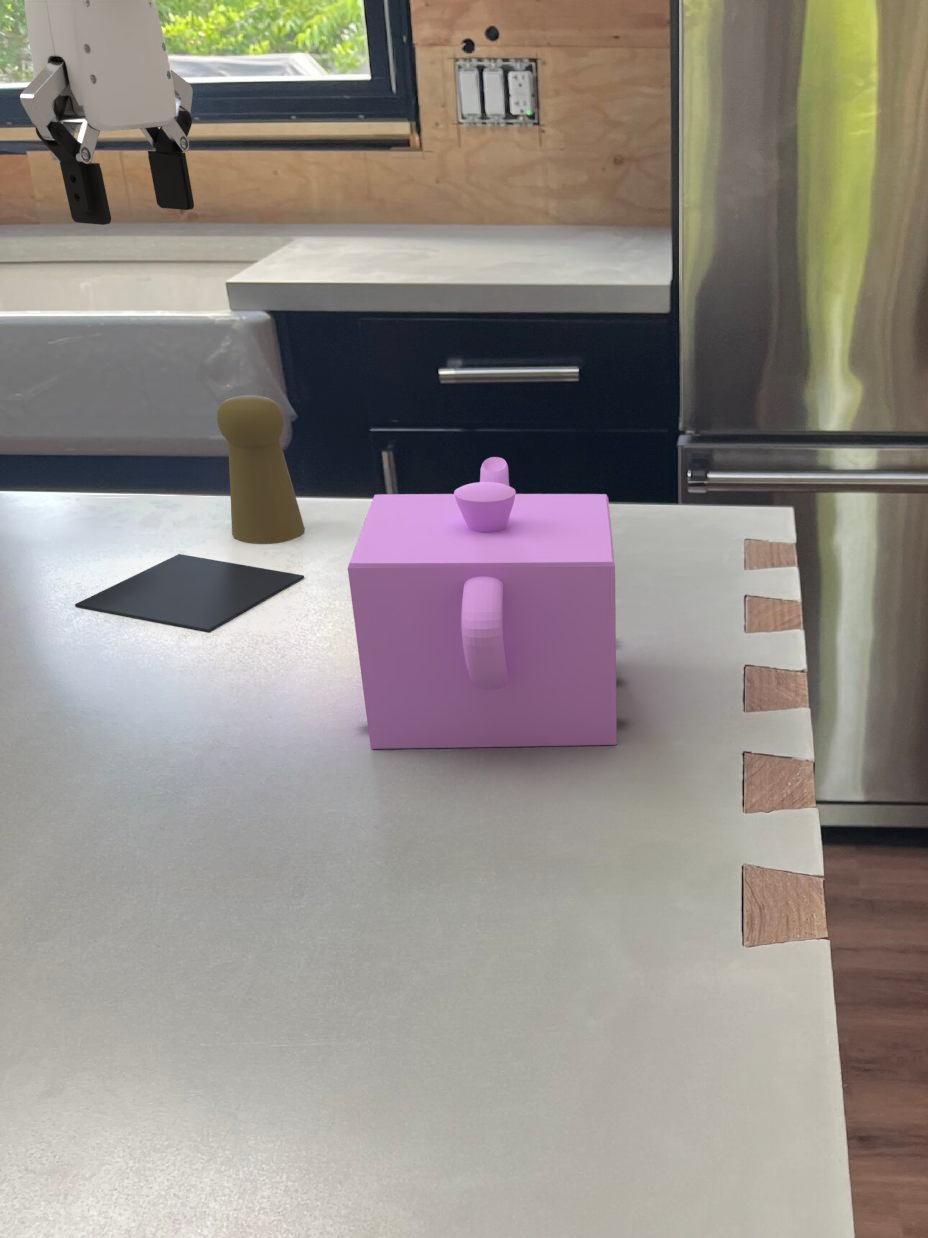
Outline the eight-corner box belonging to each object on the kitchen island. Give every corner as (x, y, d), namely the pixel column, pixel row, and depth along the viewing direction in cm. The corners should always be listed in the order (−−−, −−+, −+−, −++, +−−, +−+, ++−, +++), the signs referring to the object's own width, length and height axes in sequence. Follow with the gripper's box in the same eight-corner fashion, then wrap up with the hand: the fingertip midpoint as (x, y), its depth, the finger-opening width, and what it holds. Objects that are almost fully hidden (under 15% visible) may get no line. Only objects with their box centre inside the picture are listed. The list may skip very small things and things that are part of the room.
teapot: (606, 621, 99) (604, 428, 91) (619, 782, 78) (618, 552, 70) (402, 623, 97) (381, 427, 89) (361, 787, 77) (329, 553, 69)
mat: (75, 606, 99) (74, 604, 98) (179, 556, 108) (179, 553, 108) (208, 632, 95) (208, 629, 95) (304, 577, 105) (304, 575, 104)
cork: (230, 523, 115) (207, 391, 108) (301, 518, 116) (282, 387, 110) (233, 546, 110) (209, 409, 104) (307, 540, 112) (288, 405, 105)
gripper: (122, -52, 101) (168, 200, 111) (-55, -63, 87) (15, 226, 97) (204, -51, 99) (243, 206, 108) (35, -62, 85) (98, 233, 95)
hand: (135, 215), depth 103 cm, fingers open, 9 cm apart
